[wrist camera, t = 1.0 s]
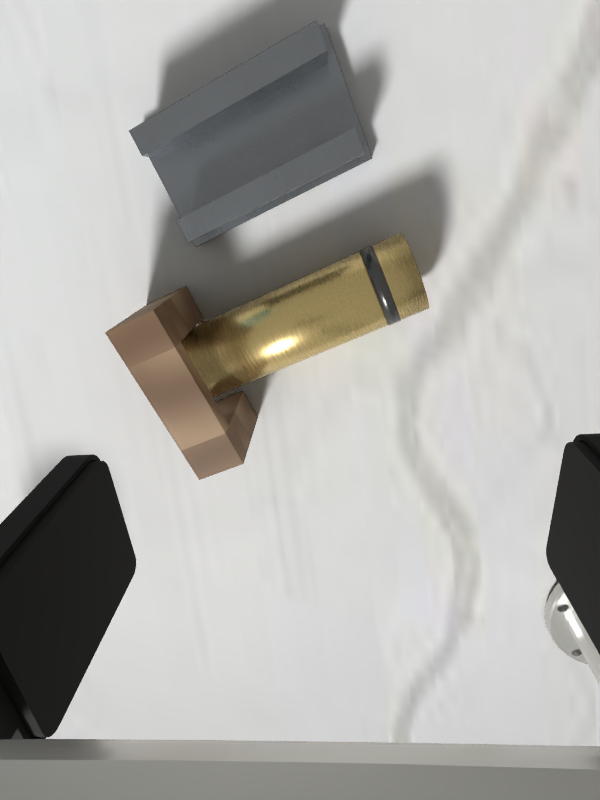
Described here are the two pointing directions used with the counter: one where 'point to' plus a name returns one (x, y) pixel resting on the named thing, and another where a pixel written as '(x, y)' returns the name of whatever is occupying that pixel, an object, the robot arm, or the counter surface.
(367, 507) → the counter surface
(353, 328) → the axle
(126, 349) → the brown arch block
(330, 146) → the cradle
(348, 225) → the counter surface
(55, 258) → the counter surface
